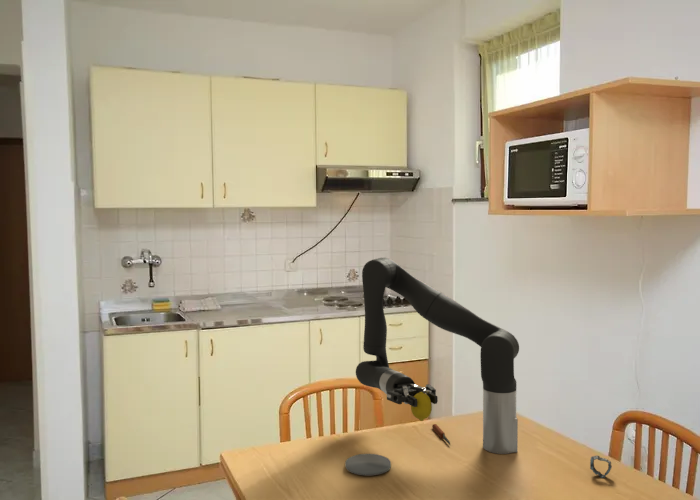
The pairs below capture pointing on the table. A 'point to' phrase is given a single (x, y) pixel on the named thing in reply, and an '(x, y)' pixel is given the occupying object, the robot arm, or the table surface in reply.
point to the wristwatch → (592, 465)
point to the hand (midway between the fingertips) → (426, 401)
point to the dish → (368, 464)
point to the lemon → (422, 406)
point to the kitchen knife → (440, 433)
